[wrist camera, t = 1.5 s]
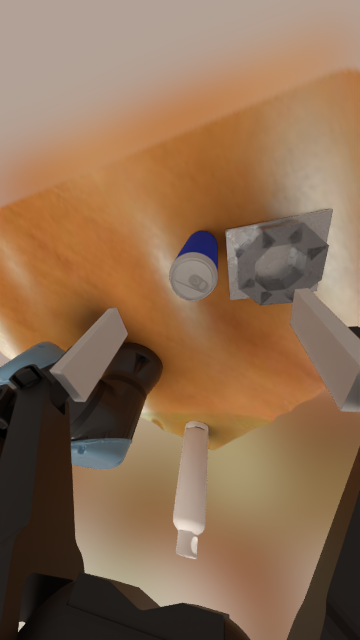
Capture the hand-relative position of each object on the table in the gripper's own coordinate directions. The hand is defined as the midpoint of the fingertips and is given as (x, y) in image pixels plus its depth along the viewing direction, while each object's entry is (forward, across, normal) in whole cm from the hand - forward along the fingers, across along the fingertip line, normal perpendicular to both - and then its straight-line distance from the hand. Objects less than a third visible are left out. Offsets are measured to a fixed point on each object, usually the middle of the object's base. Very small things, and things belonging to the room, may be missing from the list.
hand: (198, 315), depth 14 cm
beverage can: (+21, -1, +1) cm, 21 cm away
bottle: (+21, -10, -58) cm, 63 cm away
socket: (+21, +10, -3) cm, 23 cm away
